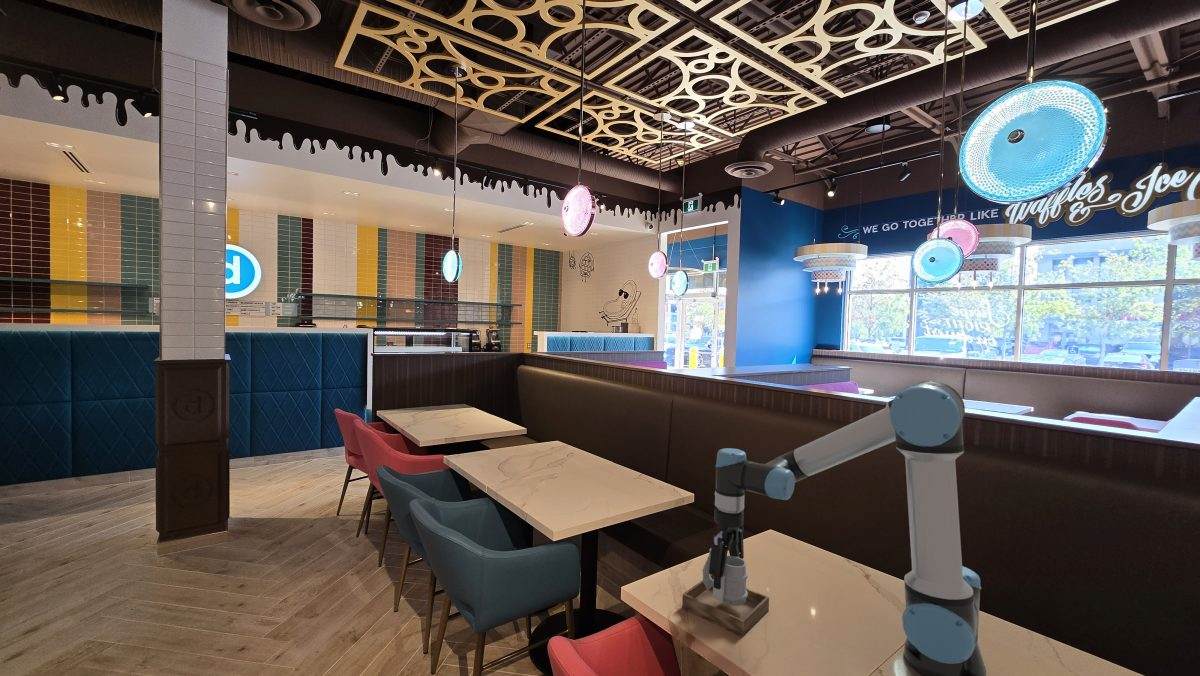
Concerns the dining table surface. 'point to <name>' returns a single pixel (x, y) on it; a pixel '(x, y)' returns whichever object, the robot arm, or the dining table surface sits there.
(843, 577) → the dining table surface
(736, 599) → the mug
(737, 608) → the wooden tray
